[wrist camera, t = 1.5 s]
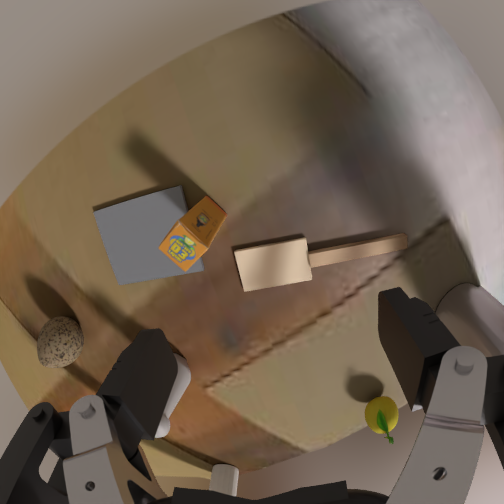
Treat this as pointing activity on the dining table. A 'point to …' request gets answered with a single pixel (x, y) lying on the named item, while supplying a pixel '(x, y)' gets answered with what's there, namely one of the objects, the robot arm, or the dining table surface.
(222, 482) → the paper towel roll
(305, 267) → the turner
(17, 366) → the dining table surface
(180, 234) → the supplement box
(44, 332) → the decorative egg
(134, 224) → the mat
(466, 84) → the dining table surface
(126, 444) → the robot arm
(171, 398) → the salt shaker
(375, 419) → the lemon
